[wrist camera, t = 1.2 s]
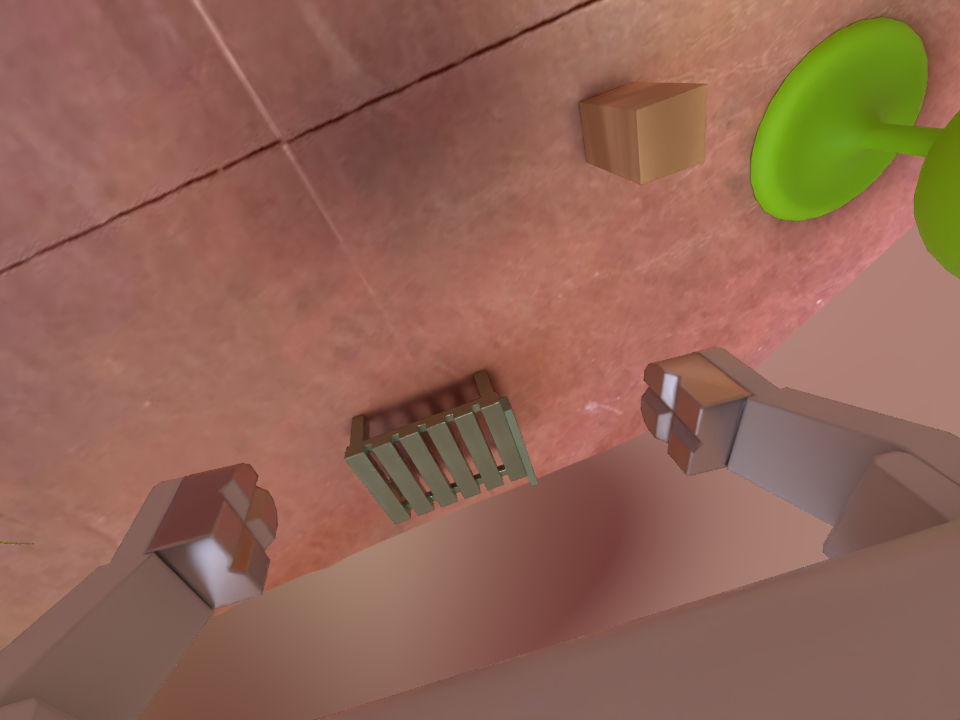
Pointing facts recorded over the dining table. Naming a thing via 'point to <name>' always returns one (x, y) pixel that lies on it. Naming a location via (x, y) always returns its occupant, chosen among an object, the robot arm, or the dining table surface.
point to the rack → (404, 482)
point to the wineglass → (858, 133)
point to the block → (645, 129)
